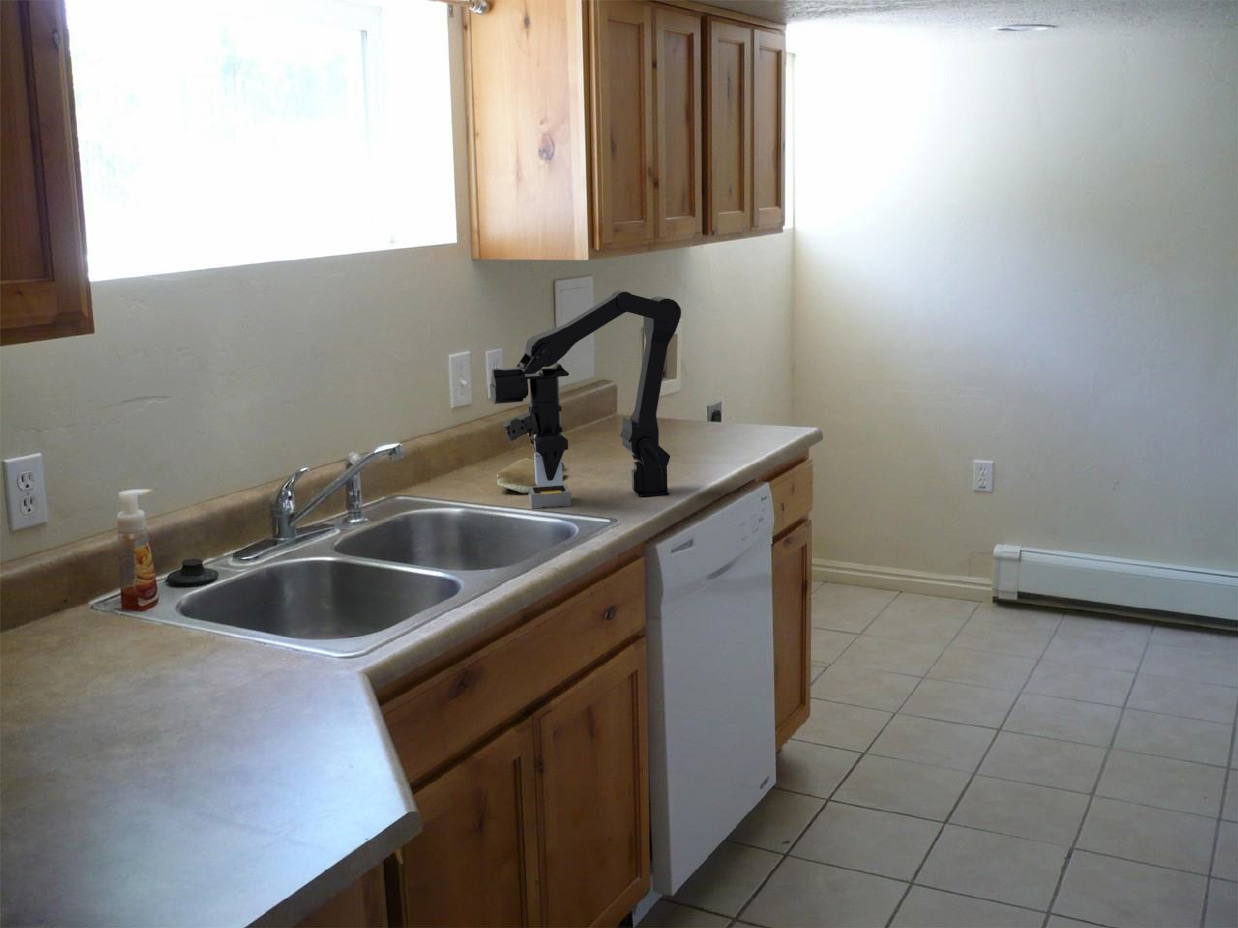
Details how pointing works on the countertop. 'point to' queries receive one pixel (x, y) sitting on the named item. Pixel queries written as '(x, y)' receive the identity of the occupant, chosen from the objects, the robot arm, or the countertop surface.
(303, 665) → the countertop surface
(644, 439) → the robot arm
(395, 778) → the countertop surface
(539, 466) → the pale blue upright block
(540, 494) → the rack
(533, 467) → the stone tool
